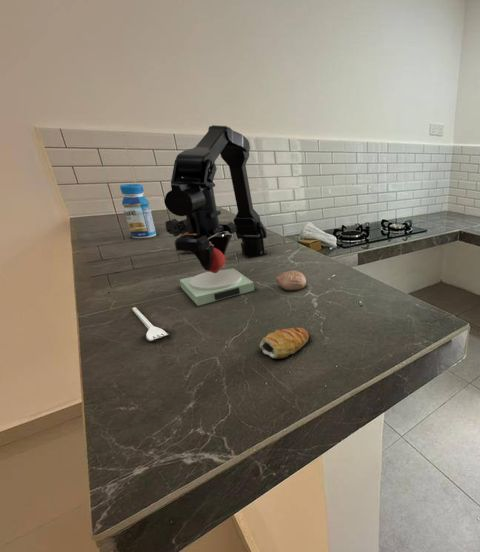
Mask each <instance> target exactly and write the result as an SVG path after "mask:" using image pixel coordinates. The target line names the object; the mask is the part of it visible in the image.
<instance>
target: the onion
mask: <svg viewBox="0 0 480 552" xmlns="http://www.w3.org/2000/svg"><path fill="white" fill-rule="evenodd" d="M209 246H214V245H213V244H212V243H210V244H209ZM200 265H201V267H202V268H203V266H202V264H201V263H200ZM225 265H226V256H225V254H223V253H222V252H221V251H220V250H218V249H216V248H214V250H213V256H212V263H211V269H210V270H209V271H210V272H212V273H217V272H218V271H219V270H222V269H223V267H225ZM209 271H208V272H209Z"/></svg>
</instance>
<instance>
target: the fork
mask: <svg viewBox="0 0 480 552" xmlns="http://www.w3.org/2000/svg"><path fill="white" fill-rule="evenodd" d="M131 310H132V311H133V312H134V314H135V315H136V317H138V319H139V320H140V321H141V323H142V324H143V325H144V326H145V327H146V328H147V332H146V336H145V338H146V339H147V340H148V341H150V342H153V341H154V340H156V339H157V340H158V339H161V338H163V337H167V336H169V335H170V334H169V333H168V332H166V331H165V330H164V329H162V328H160V327H158V326H154V325H153V324H152V323H151V322H150V321H149V320H148V319H147V317H146V316H145V315H144V314H142V312H141V311H140V310H139V309H138V308H137V307H136V306H134V307H132V308H131Z"/></svg>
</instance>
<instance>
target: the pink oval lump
mask: <svg viewBox="0 0 480 552" xmlns="http://www.w3.org/2000/svg"><path fill="white" fill-rule="evenodd" d="M275 281H276V283H277V284H278V286H279V287H280V288H281V289H284V290H285V291H291V292H293V291H300V290H302V289H304V288H305V286H306V285H307V279H306V276H305V274H303V273H302V272H300V271H298V270H293V269H292V270H289V271H284V272H280V273H279V274H277V275H276V277H275Z"/></svg>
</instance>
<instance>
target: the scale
mask: <svg viewBox="0 0 480 552" xmlns="http://www.w3.org/2000/svg"><path fill="white" fill-rule="evenodd" d="M179 284H180V287H181V288H180V289H182V290H183V292H184V293H186V295H187V296H188V297H189V298H190V299H191V300H192V302H193V303H195V305H196V306H203V305H206V304H210V303H213V302H217V301H222V300H225V299H228V298H231V297H236V296H239V295H243V294H247V293H250V292H255V285H254V281H252V280H251V279H249V278H248V277H246V276H245V275H243V274H242V273H241V272H239V271H238V270H237V269H235V268H234V267H231V268H227V269H220V270H219V271H218V272H217V273H212V272H210V271H205V272H201V273H199V274H196V275H195V276H189V277H185V278H181V279H179Z"/></svg>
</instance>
